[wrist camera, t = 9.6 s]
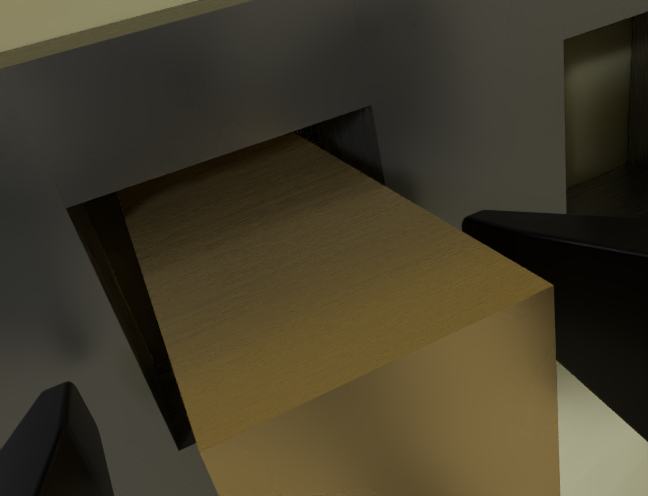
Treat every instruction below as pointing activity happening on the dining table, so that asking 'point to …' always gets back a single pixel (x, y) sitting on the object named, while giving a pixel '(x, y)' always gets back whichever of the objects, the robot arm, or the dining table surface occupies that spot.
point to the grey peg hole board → (254, 127)
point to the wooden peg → (344, 333)
